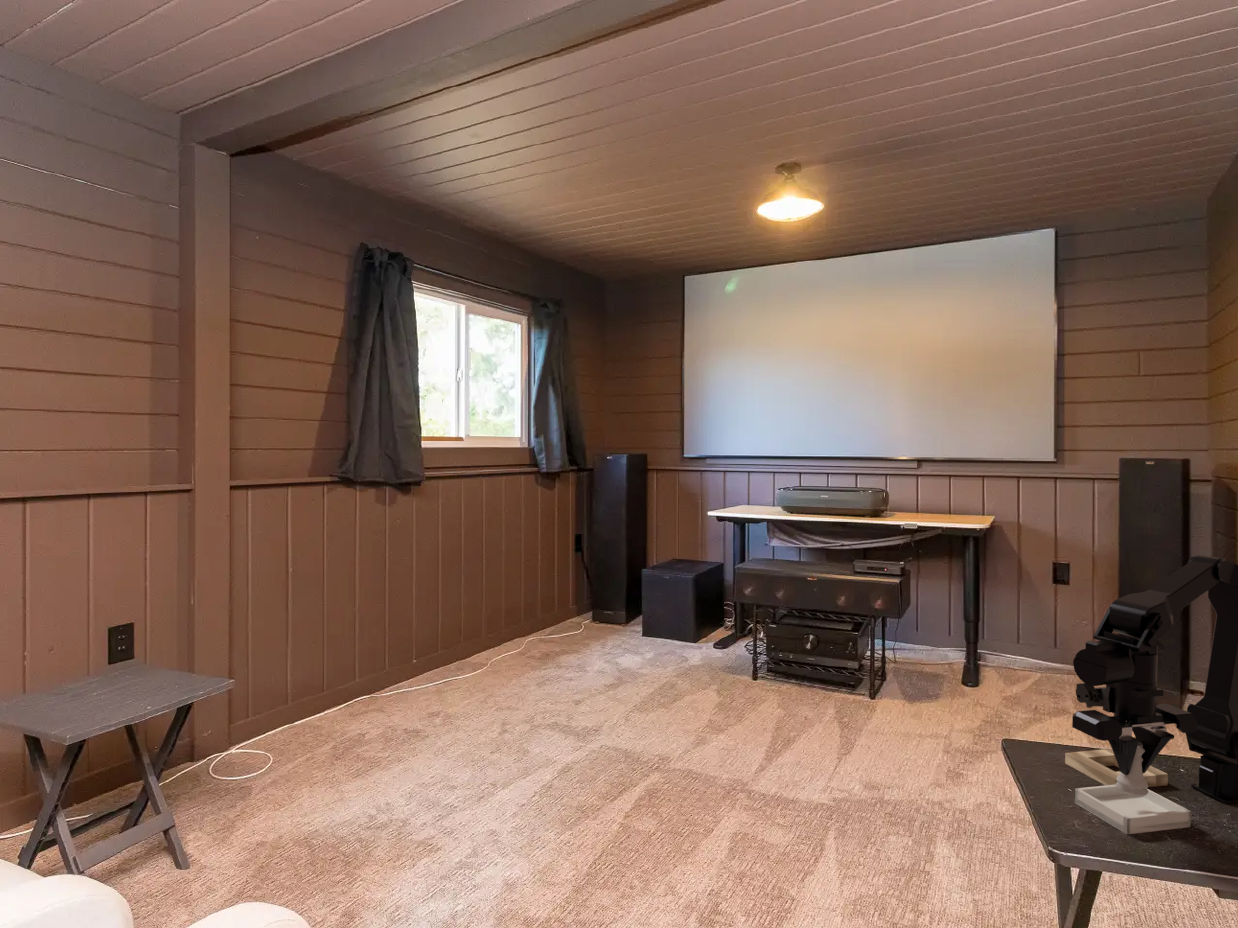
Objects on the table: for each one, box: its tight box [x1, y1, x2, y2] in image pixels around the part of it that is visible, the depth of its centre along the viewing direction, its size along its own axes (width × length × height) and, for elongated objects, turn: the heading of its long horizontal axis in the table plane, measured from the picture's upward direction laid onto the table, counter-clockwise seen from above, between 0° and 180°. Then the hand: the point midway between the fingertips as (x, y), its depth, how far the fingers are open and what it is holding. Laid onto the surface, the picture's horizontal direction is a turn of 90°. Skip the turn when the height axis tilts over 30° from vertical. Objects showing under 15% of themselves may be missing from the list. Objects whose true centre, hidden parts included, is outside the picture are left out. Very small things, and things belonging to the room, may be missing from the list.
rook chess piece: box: [1115, 742, 1149, 797], centre depth 120 cm, size 4×4×8 cm
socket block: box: [1064, 748, 1169, 788], centre depth 135 cm, size 11×11×2 cm
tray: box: [1074, 785, 1192, 835], centre depth 120 cm, size 12×10×2 cm
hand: (1132, 772), depth 120 cm, fingers closed on rook chess piece, 3 cm apart
